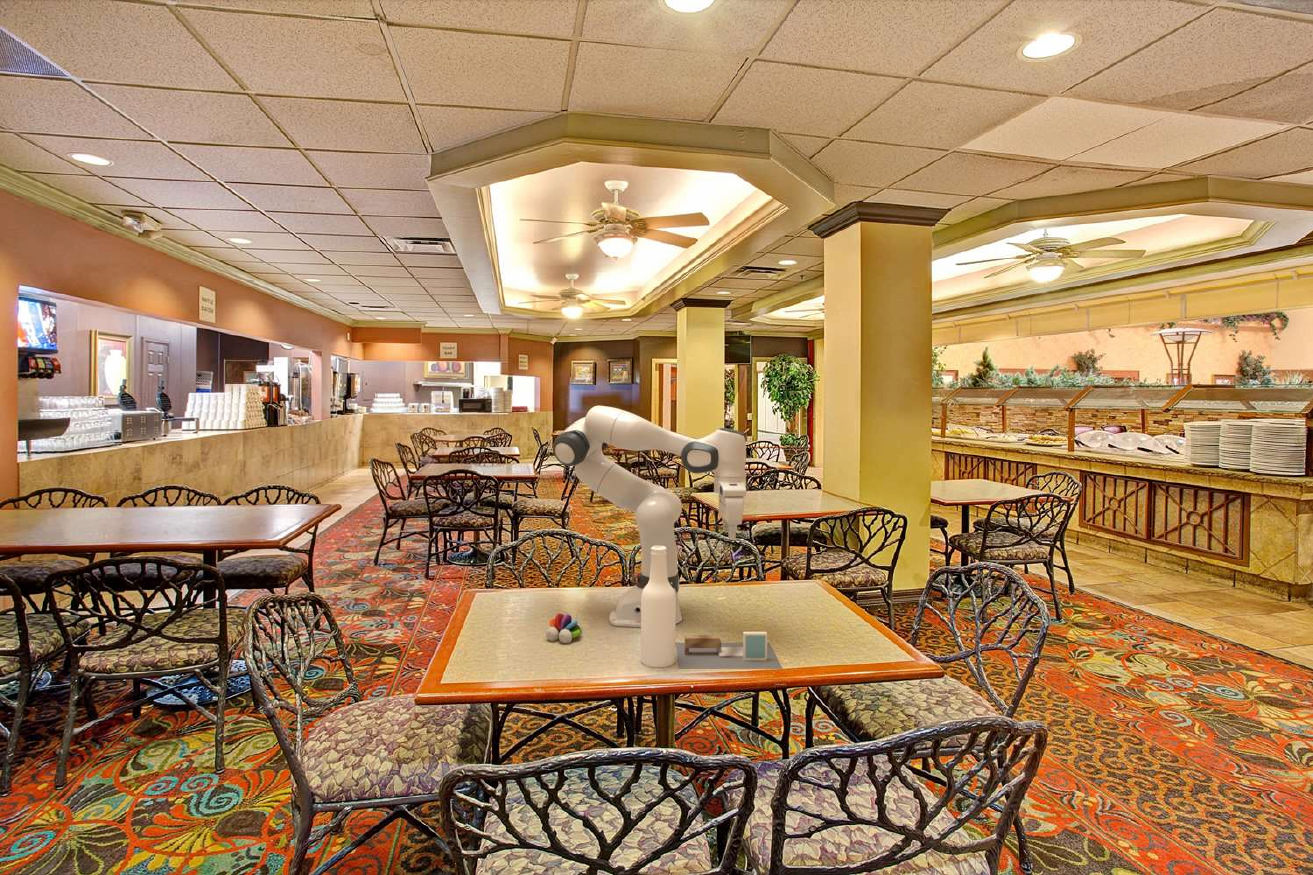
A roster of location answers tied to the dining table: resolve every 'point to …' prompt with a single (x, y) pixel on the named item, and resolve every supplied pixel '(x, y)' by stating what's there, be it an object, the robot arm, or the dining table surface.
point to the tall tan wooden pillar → (712, 645)
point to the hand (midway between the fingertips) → (729, 535)
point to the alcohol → (658, 614)
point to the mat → (722, 659)
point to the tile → (754, 645)
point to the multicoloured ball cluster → (563, 628)
